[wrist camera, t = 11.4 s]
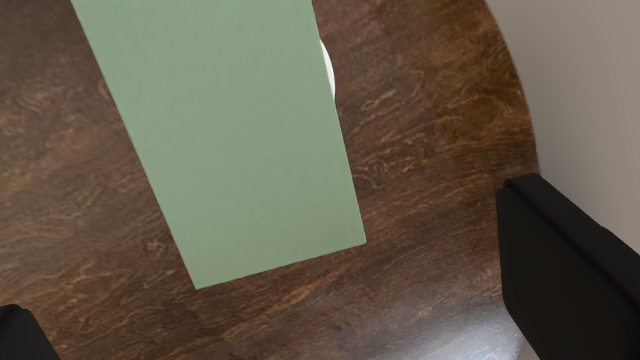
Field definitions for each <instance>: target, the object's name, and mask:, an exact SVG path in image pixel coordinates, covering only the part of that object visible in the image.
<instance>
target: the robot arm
mask: <svg viewBox="0 0 640 360" xmlns="http://www.w3.org/2000/svg"><path fill="white" fill-rule="evenodd" d="M496 210H497V224H498V239H499V253H500V267H501V281H502V295H503V300H504V303H505V306H506V309H507V311H508V313H509V314H510V316H511V317H512V319H513V320H514V322H515V323H516V325H517V326H518V328H519V329H520V331H521V332H522V333H523V335H524V336H525V338H526V339H527V341H528V342H529V344H530V345H531V347H532V348H533V349H534V351H535V353H536V354H537V356H538V357H539V359H540V360H640V255H639V254H638V253H636V252H635V251H634V250H633V249H632V248H630V247H629V246H628V245H627V244H625V243H624V242H623V241H622V240H620V239H619V238H618V237H617V236H615V235H614V234H613V233H612V232H610V231H609V230H608V229H606V228H604V227H602V226H600V225H599V224H598V223H597V222H595V221H594V220H593V219H592V218H591V217H589V216H588V215H587V214H586V213H585V212H583V211H582V210H581V209H580V208H579V207H577V206H576V205H575V204H574V203H573V202H571V201H570V200H569V199H568V198H566V197H565V196H564V195H563V194H562V193H560V192H559V191H558V190H557V189H556V188H554V187H553V186H552V185H551V184H550V183H548V182H547V181H546V180H545V179H543V178H542V177H541V176H540V175H539V174H537V173H529V174H525V175H521V176H517V177H513V178H510V179H506V180H505V181H504V184H503V188H500V189H497V190H496ZM0 360H61V359H60V358H59V356H58V355H57V353H56V351H55V350H54V348H53V347H52V345H51V343H50V342H49V340H48V339H47V337H46V335H45V334H44V332H43V330H42V329H41V327H40V326H39V324H38V322H37V321H36V319H35V318H34V316H33V314H32V313H31V312H30V311H29V310H27V309H22V308H21V307H20V306H18V305H16V304H9V305H5V306H1V307H0Z"/></svg>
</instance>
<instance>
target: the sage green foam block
mask: <svg viewBox="0 0 640 360" xmlns="http://www.w3.org/2000/svg"><path fill="white" fill-rule="evenodd" d="M70 1H71V3H72V5H73V8H74V10H75V12H76V15H77V17H78V19H79V22H80V24H81V26H82V28H83V31H84V33H85V35H86V38H87V40H88V42H89V45H90V47H91V49H92V52H93V54H94V56H95V58H96V61H97V63H98V65H99V68H100V70H101V72H102V75H103V77H104V79H105V82H106V84H107V86H108V88H109V91H110V93H111V95H112V98H113V100H114V102H115V105H116V107H117V109H118V112H119V114H120V116H121V118H122V121H123V123H124V125H125V128H126V130H127V132H128V135H129V137H130V139H131V142H132V144H133V146H134V148H135V151H136V153H137V155H138V158H139V160H140V162H141V165H142V167H143V169H144V172H145V174H146V176H147V178H148V181H149V183H150V185H151V188H152V190H153V192H154V195H155V197H156V199H157V202H158V204H159V206H160V208H161V211H162V213H163V215H164V218H165V220H166V222H167V225H168V227H169V229H170V232H171V234H172V236H173V238H174V241H175V243H176V245H177V248H178V250H179V252H180V255H181V257H182V259H183V262H184V264H185V266H186V268H187V271H188V273H189V275H190V278H191V280H192V282H193V285H194V287H195V289H200V288H204V287H208V286H211V285H215V284H219V283H222V282H226V281H230V280H233V279H237V278H241V277H244V276H248V275H252V274H255V273H259V272H262V271H266V270H270V269H273V268H277V267H281V266H284V265H288V264H292V263H295V262H299V261H303V260H306V259H310V258H314V257H317V256H321V255H325V254H328V253H332V252H336V251H339V250H343V249H347V248H350V247H354V246H358V245H361V244H365V243H366V237H365V233H364V228H363V224H362V220H361V215H360V211H359V207H358V202H357V198H356V194H355V189H354V185H353V181H352V176H351V172H350V168H349V163H348V159H347V155H346V150H345V146H344V141H343V137H342V133H341V128H340V124H339V120H338V115H337V111H336V107H335V102H334V98H333V94H332V89H331V85H330V81H329V76H328V72H327V67H326V63H325V59H324V54H323V50H322V46H321V41H320V37H319V33H318V28H317V24H316V20H315V15H314V11H313V7H312V2H311V0H70Z"/></svg>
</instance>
